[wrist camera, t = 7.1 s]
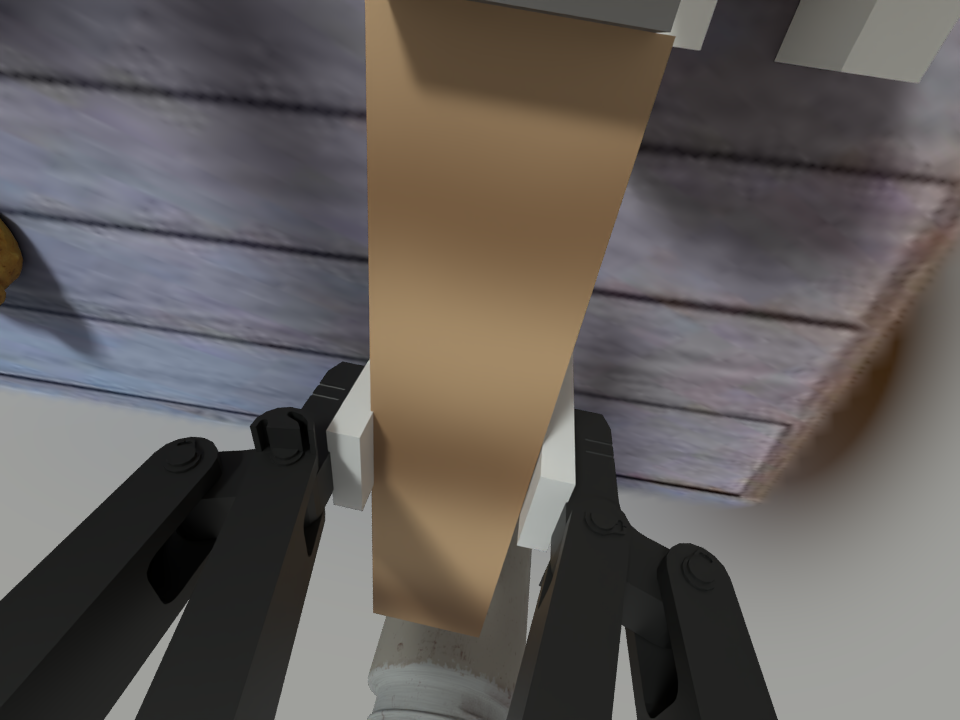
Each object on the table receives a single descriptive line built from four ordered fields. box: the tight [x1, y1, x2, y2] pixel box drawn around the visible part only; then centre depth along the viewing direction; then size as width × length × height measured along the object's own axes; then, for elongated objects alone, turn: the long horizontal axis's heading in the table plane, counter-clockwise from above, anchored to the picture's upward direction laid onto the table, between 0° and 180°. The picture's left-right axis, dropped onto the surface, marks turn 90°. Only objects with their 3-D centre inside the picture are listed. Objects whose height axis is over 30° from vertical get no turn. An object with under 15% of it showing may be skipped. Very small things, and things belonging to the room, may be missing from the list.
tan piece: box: [365, 0, 681, 638], centre depth 12 cm, size 20×4×7 cm, turn 172°
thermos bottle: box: [367, 514, 532, 720], centre depth 29 cm, size 8×8×28 cm
